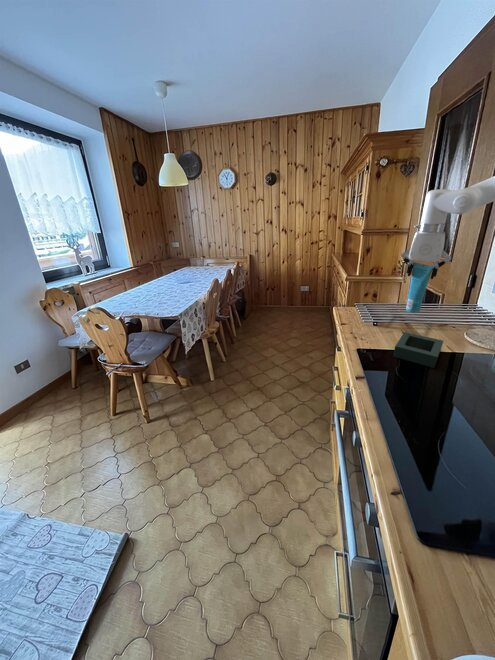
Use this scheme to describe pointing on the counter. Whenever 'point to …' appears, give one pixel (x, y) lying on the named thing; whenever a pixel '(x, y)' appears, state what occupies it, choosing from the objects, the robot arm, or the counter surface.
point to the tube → (418, 286)
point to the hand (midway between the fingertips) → (420, 276)
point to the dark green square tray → (416, 354)
